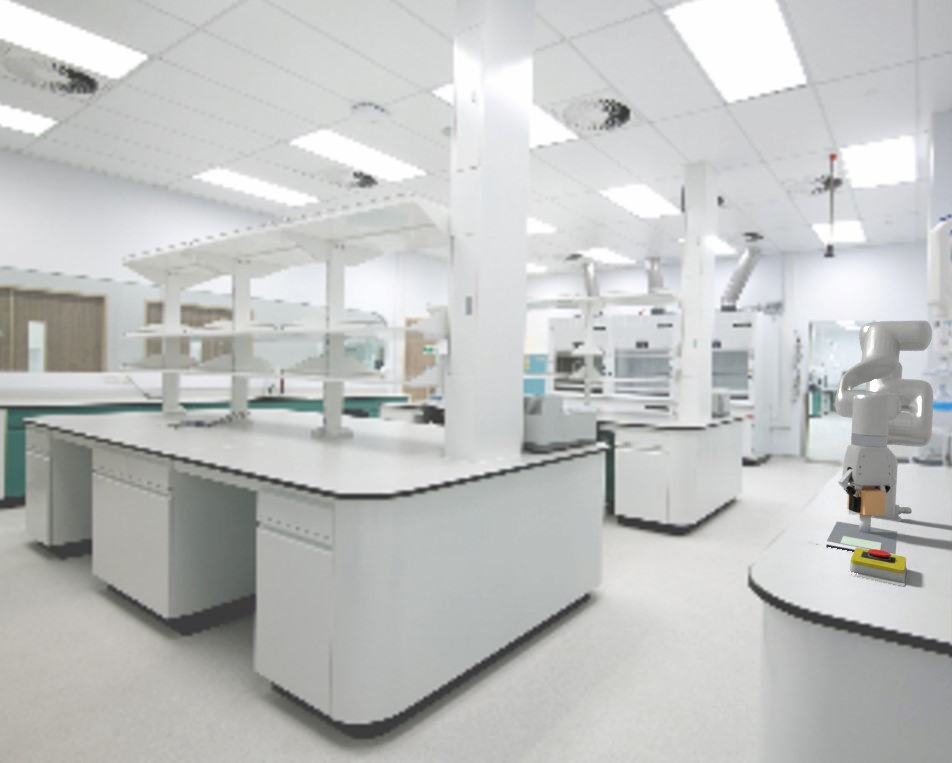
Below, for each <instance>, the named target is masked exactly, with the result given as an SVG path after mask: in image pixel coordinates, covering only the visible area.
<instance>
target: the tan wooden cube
mask: <svg viewBox="0 0 952 763" xmlns="http://www.w3.org/2000/svg"><path fill="white" fill-rule="evenodd" d="M855 488H856V487H854V490H855ZM859 497H861V509H860V514H863V515H885V502H886V491H883V490H879V489H876V488H875V486H863V487H862V489H861V492H860V495H859ZM846 508H847V509H846V510H847V511H849V495H848V494H847V507H846Z"/></svg>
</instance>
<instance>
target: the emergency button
mask: <svg viewBox="0 0 952 763" xmlns="http://www.w3.org/2000/svg"><path fill="white" fill-rule="evenodd" d="M854 550H855V551H854V553H853V552H852V556H851V559H850V564H849V570H850V571H851V573H852V572H854V573H856V574H855V576H857V573H858V576H857V577H856V578H860V577H862V578H861V579H864V578H866V579H865V580H869V579H871V580H870V581H873V580H875V581H874V582H878V581H879V582H878V583H882V582H883V584H887V583H888V584H887V585H891V584H893V585H892V586H896V585H898V586H897V587H901V586H903V587H905V586H906V578H907V557H905V556H902V555H898V554H892V553H888V552H886V551H882V550H877V549H865V548H860V547H855V548H854ZM851 575H852V574H851ZM851 575H850V576H851ZM855 576H854V577H855Z"/></svg>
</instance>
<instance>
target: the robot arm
mask: <svg viewBox="0 0 952 763" xmlns="http://www.w3.org/2000/svg"><path fill="white" fill-rule="evenodd" d="M858 335H859V338H858V339H859V346H860V350H861V352H862V353H861V354H862V355H861V360H860V362H858V363H856V364H855V365H853V366H852V367H851V368H849V369H848V370H847V371H846V372H844V374H843V375H842V376H841V377H840V380H839V382H838V385H837V389H836V394H835V399H834V406H835V407H834V408H835V412H836V413H837V415H839V416H840V417H844V418H850V419H851V437H850V444H849V445H847V446H846V447H847V448H846V451H845V454H844V460H843V466H842V474H841V475H842V477H841V478H839V480H838V485H840V486H841V487H842V489H843V490H844V491H845V492H846V494H847V496H848V495H849V510H848V514H849V515H851V516H859V517H860V509H861V497H859V495H860V492H861V489H862V487H863V486H875V488H876V489H879V490H883V491H886V502H885V515H871V519H872V518H873V519H876V520H883V521H891V522H897V523H902V517H901V516H899V515H901V514H904V515H908V514H909V515H911V514H912V512H913V511H912V508H911V507H910V506H900V505H899V504H896V503H897V502H896V501H897V483H898V481H897V480H898V465H899V462H898V459H897V457H896V455H895V453H894V452H893V451H892V450H891V449H890V448H889V447H888V445H889V446H891V445H892V446H894V445H895V446H903V447H904V446H905V447H917V448H918V447H919V448H921V447H925V446H928V444H930V442H931V439H932V433H933V416H934V391H933V387H932V385H931V384H930V382H927V381H926V380H924V379H923V380H922V379H914V378H913V379H911V378H910V379H907V378H906V379H905V378H902V377H903V376H902V375H903V366H902V364H901V362H900V352H912V351H913V352H921V351H922V352H924V351H926V350H927V349H928V347H929V346H930V344H931V341H932V338H933V329H932V326H931V323H929V321H927V320H923V319H920V320H890V321H889V320H885V321H874V322H872V321H871V322H869V323H866V324H864V325H863V326H861V327H860V329H859V334H858ZM863 384H865V390H859V389H858V390H855V389H854V388H856V387H858V386H860V385H863ZM854 487H856V488H855V490H854Z"/></svg>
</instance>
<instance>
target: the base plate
mask: <svg viewBox="0 0 952 763" xmlns="http://www.w3.org/2000/svg"><path fill="white" fill-rule="evenodd" d="M858 519H859V522H858V524H856V523H849V522H843V521H836V522H835V525H834V527H833V528H832V530H831V532H830V534H829V536H828V537H827V539H826V542H830V543H836V544H840V545H845V546H849V547H855V548H862V549H867V550H869V549H877V550H882V551H886V552H888V553H890V554H893V555H896V547H897V546H896V545H897V537H898V536H897V534H898V531H897V530H896V531H895V530H890V529H885V528H878V527H873V526H871V524H872V518H871V515H863V514H860V516H859V518H858ZM825 547H826V548H828V547H831V548H830V549H833V548H837V549H836V550H838V549H842V550H841V551H843V550H847V551H846V552H848V551H852V552H851V553H853V552H854V551H855V548H847V547H843V546H838V545H837V546H836V545H832V544H826V546H825Z"/></svg>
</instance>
